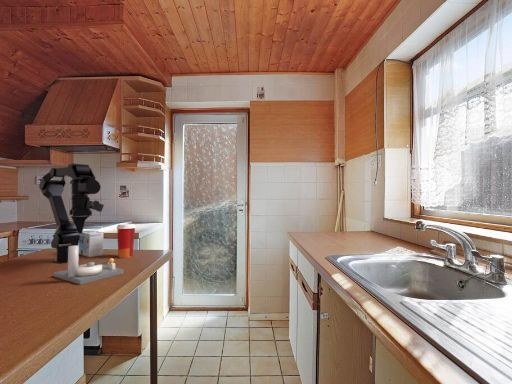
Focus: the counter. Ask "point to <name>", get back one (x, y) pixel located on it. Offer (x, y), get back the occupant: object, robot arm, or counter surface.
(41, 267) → the counter surface
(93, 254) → the light bulb box
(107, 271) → the stand
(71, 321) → the counter surface
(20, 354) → the counter surface
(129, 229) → the coffee cup
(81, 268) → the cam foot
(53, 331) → the counter surface
